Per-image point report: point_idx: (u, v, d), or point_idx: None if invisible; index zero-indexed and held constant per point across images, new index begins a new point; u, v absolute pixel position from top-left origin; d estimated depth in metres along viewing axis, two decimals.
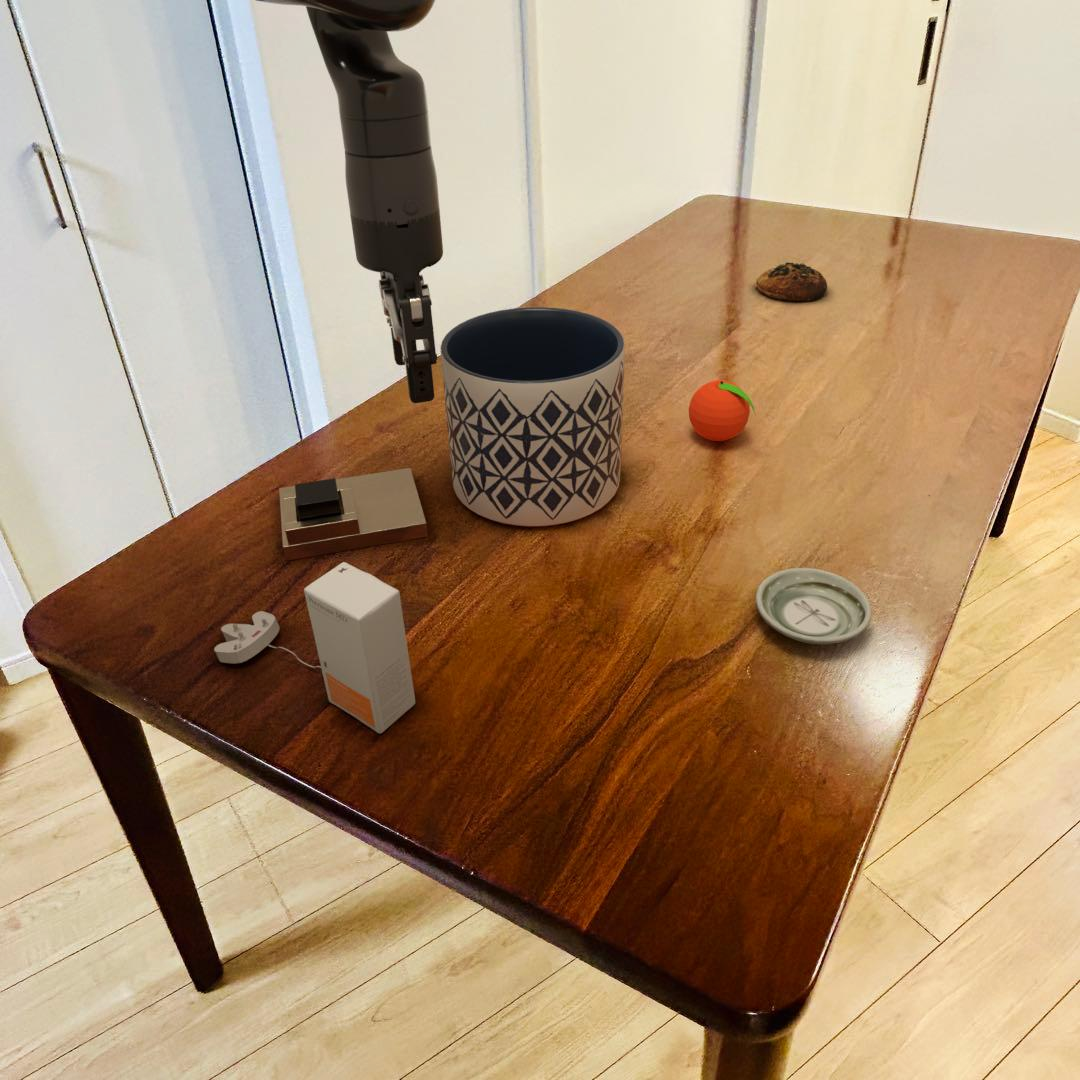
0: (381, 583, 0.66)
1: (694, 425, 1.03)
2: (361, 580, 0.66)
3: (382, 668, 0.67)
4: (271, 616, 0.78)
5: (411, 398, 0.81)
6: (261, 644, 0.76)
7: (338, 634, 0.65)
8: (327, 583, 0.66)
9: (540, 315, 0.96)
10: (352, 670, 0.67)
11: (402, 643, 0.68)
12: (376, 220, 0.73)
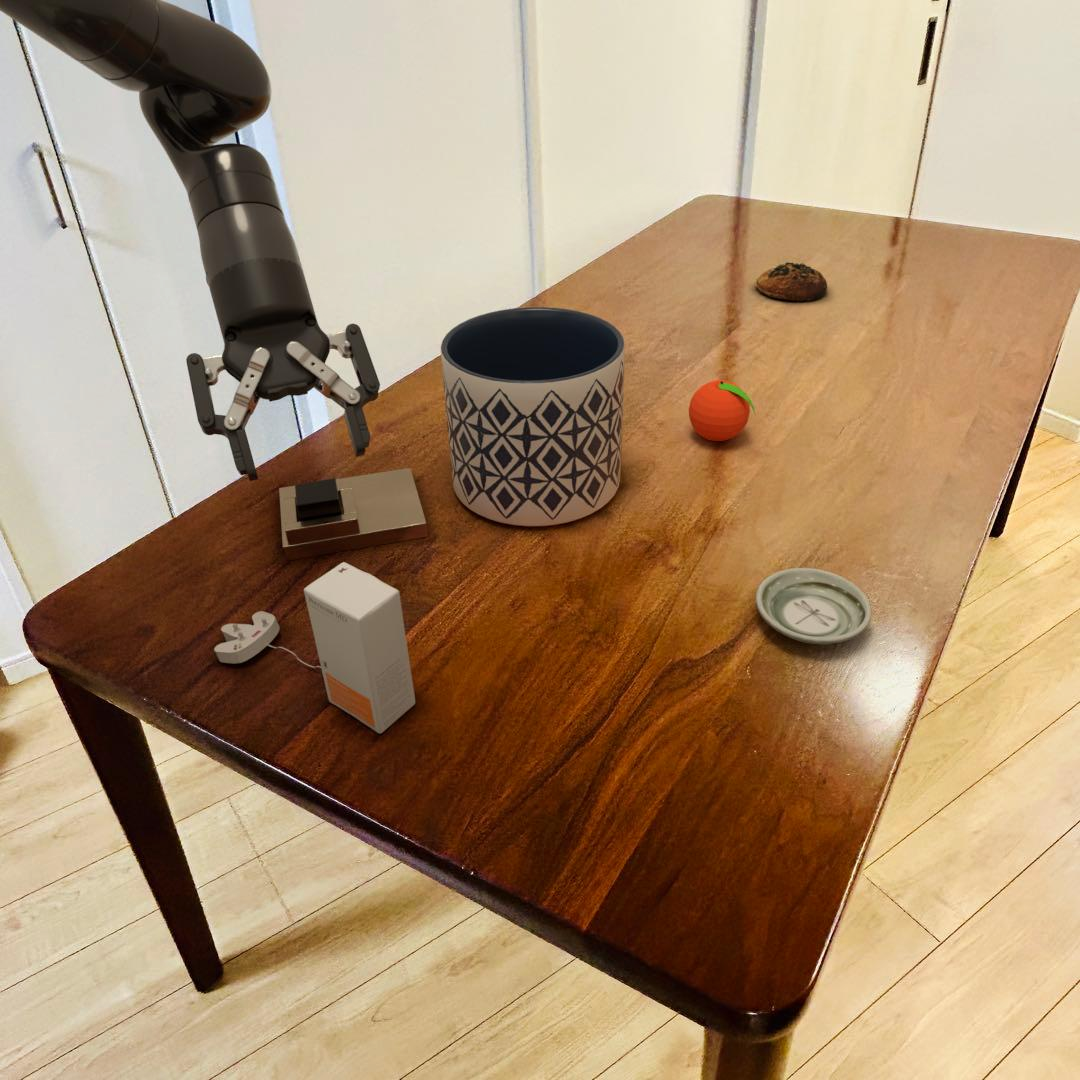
0: (381, 583, 0.66)
1: (694, 425, 1.03)
2: (361, 580, 0.66)
3: (382, 668, 0.67)
4: (271, 616, 0.78)
5: (363, 443, 0.72)
6: (261, 644, 0.76)
7: (338, 634, 0.65)
8: (327, 583, 0.66)
9: (540, 315, 0.96)
10: (352, 670, 0.67)
11: (402, 643, 0.68)
12: (295, 261, 0.72)
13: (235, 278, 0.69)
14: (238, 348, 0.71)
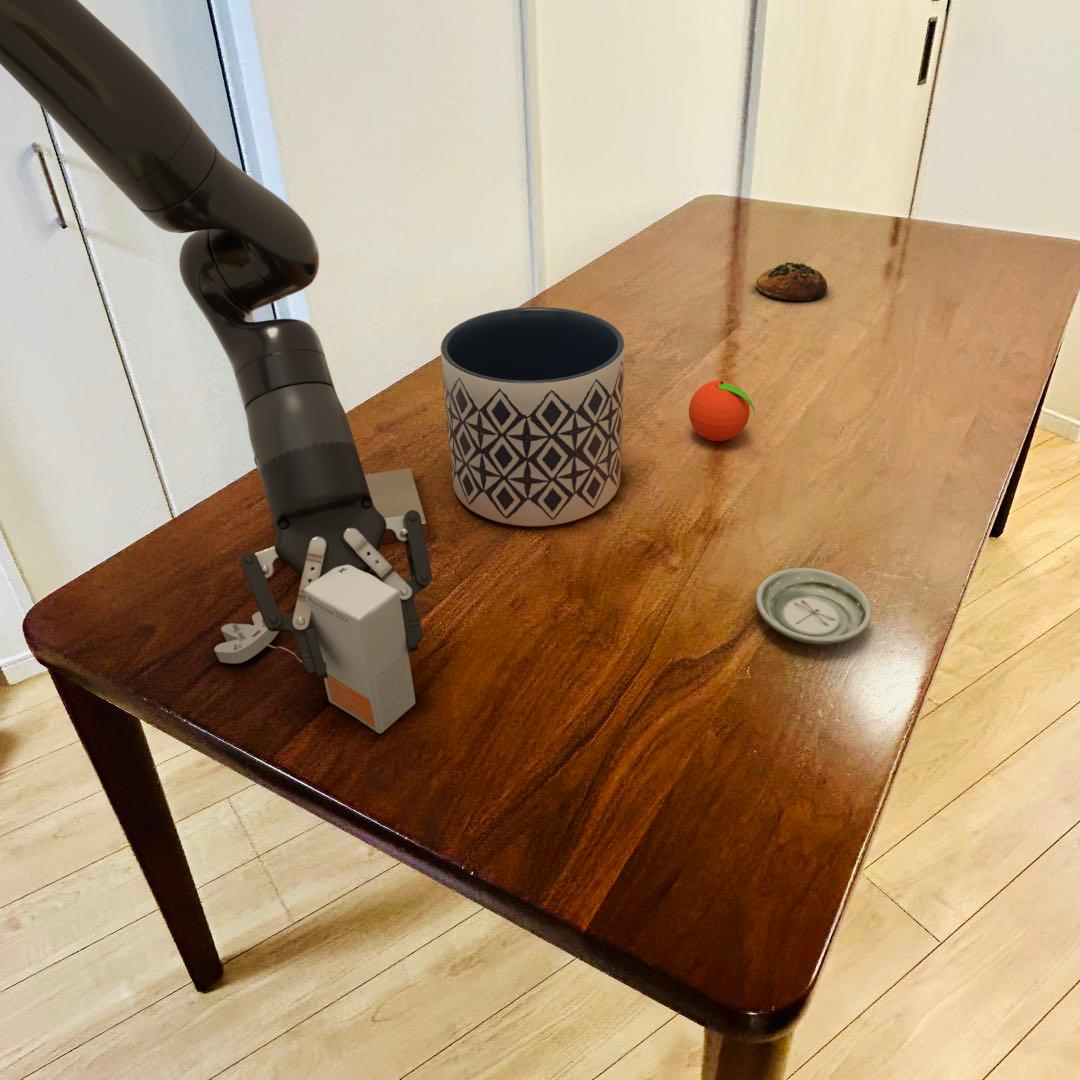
0: (381, 583, 0.66)
1: (694, 425, 1.03)
2: (361, 580, 0.66)
3: (382, 668, 0.67)
4: None
5: (416, 642, 0.68)
6: (261, 644, 0.76)
7: (338, 634, 0.65)
8: (327, 583, 0.66)
9: (540, 315, 0.96)
10: (352, 670, 0.67)
11: (402, 643, 0.68)
12: (350, 441, 0.68)
13: (290, 466, 0.66)
14: (291, 536, 0.67)
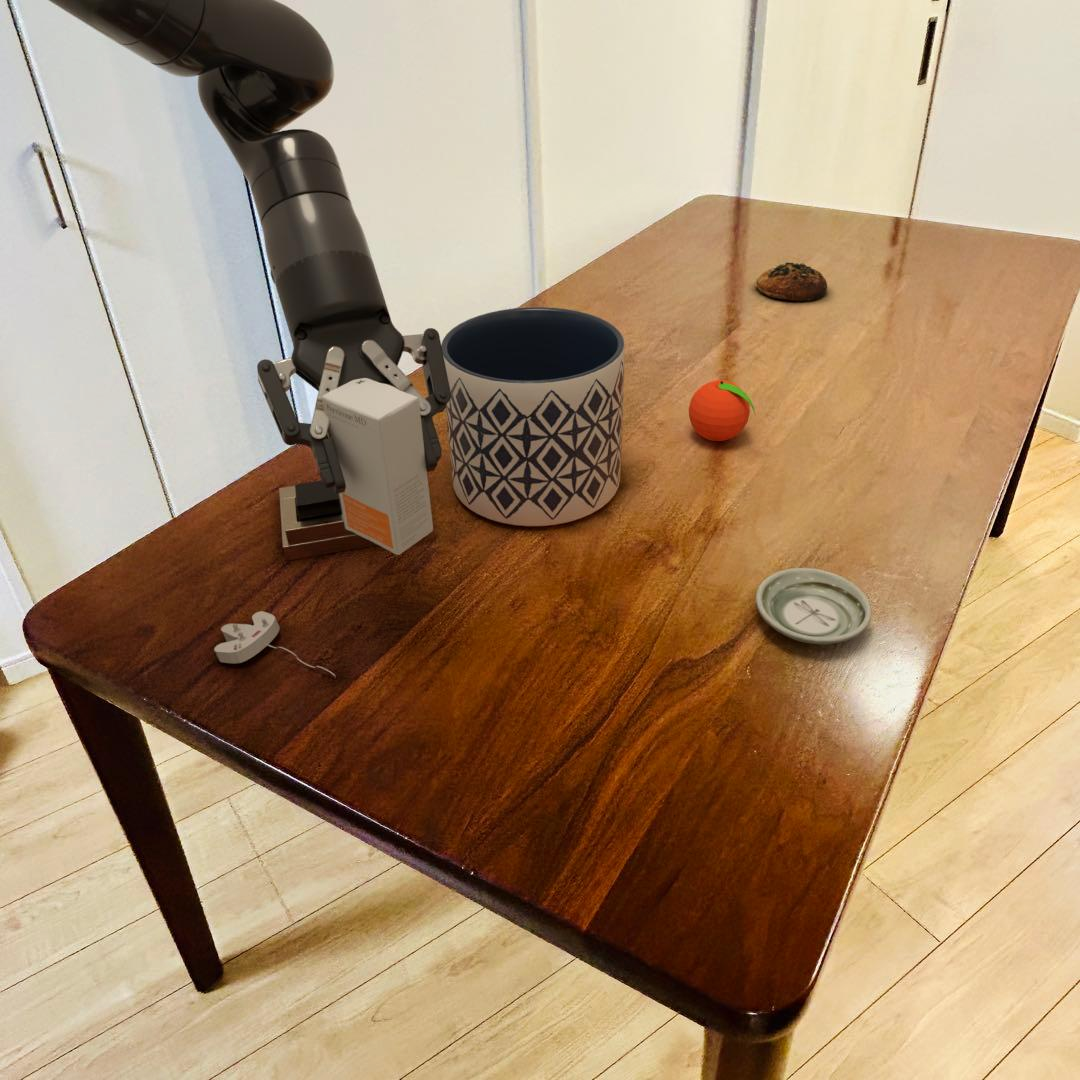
0: (400, 391, 0.64)
1: (694, 425, 1.03)
2: (379, 389, 0.65)
3: (400, 481, 0.66)
4: (271, 616, 0.78)
5: (435, 457, 0.67)
6: (261, 644, 0.76)
7: (356, 443, 0.64)
8: (345, 392, 0.65)
9: (540, 315, 0.96)
10: (370, 483, 0.66)
11: (421, 458, 0.66)
12: (368, 255, 0.67)
13: (308, 272, 0.64)
14: (308, 347, 0.66)
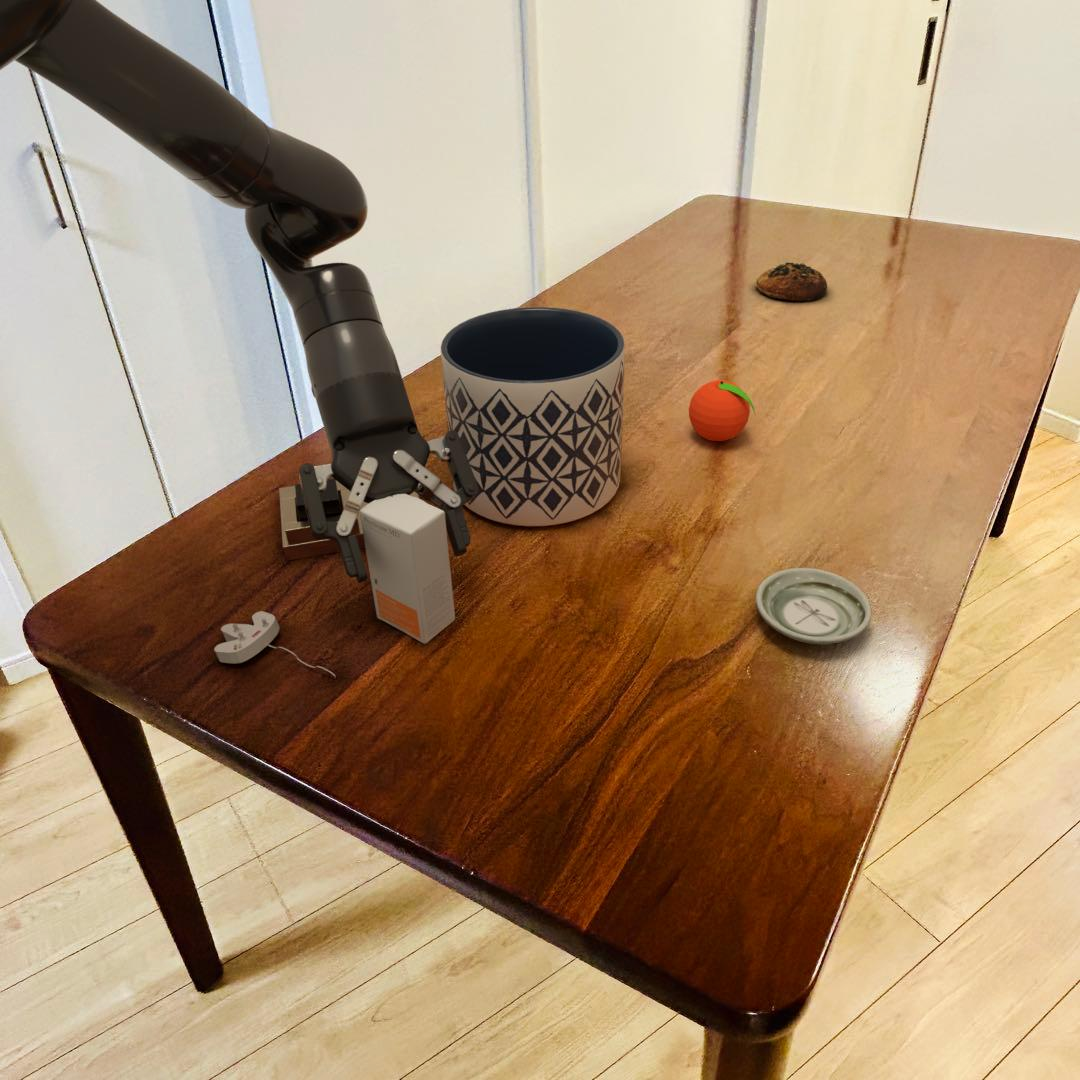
0: (428, 505, 0.74)
1: (694, 425, 1.03)
2: (410, 503, 0.74)
3: (428, 582, 0.75)
4: (271, 616, 0.78)
5: (465, 545, 0.76)
6: (261, 644, 0.76)
7: (390, 550, 0.73)
8: (380, 505, 0.74)
9: (540, 315, 0.96)
10: (401, 584, 0.75)
11: (445, 560, 0.76)
12: (398, 373, 0.76)
13: (346, 392, 0.73)
14: (347, 457, 0.74)
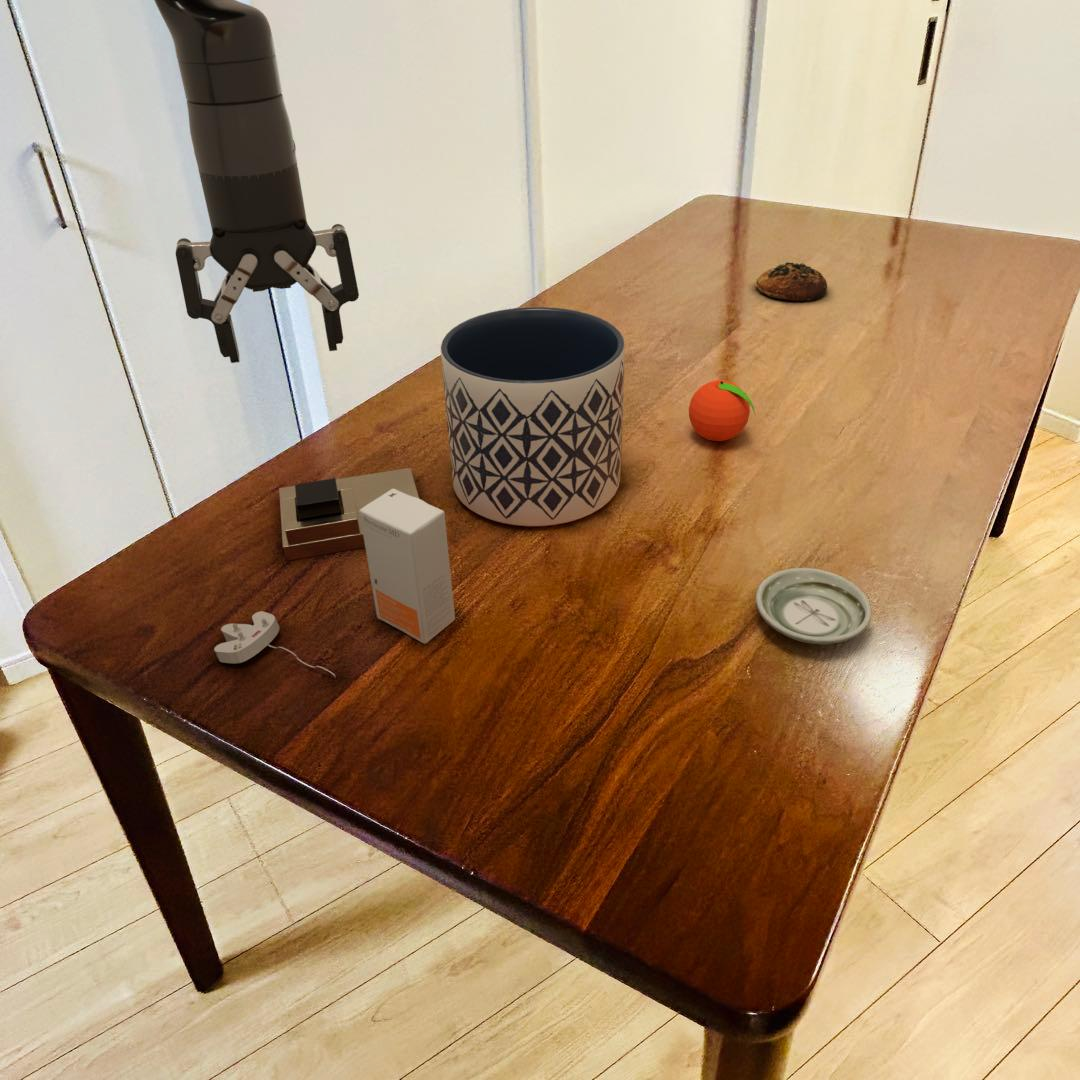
0: (428, 505, 0.74)
1: (694, 425, 1.03)
2: (410, 503, 0.74)
3: (428, 582, 0.75)
4: (271, 616, 0.78)
5: (336, 346, 0.80)
6: (261, 644, 0.76)
7: (390, 550, 0.73)
8: (380, 505, 0.74)
9: (540, 315, 0.96)
10: (401, 584, 0.75)
11: (445, 560, 0.76)
12: (290, 165, 0.70)
13: (228, 191, 0.68)
14: (226, 245, 0.73)
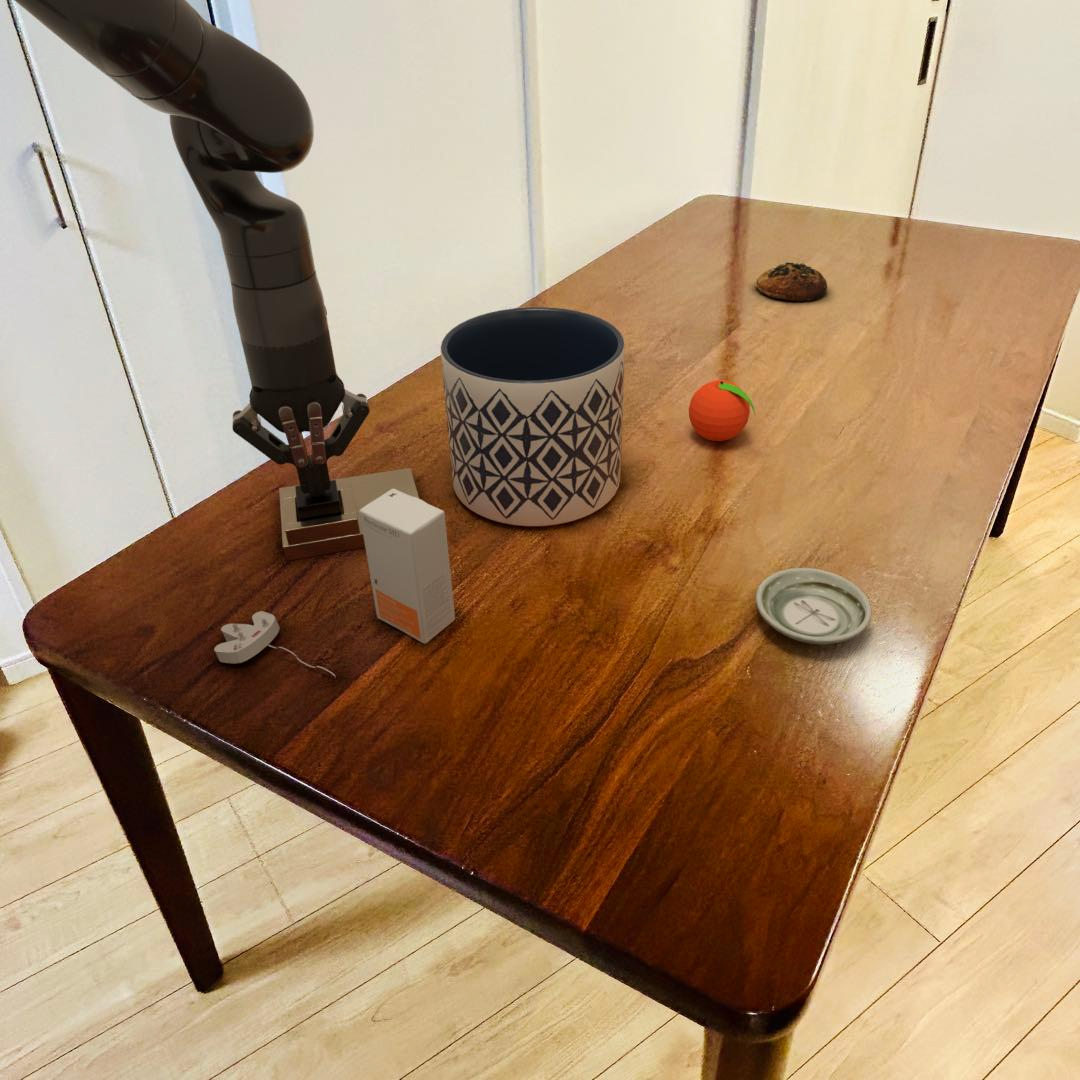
0: (428, 505, 0.74)
1: (694, 425, 1.03)
2: (410, 503, 0.74)
3: (428, 582, 0.75)
4: (271, 616, 0.78)
5: (324, 492, 0.88)
6: (261, 644, 0.76)
7: (390, 550, 0.73)
8: (380, 505, 0.74)
9: (540, 315, 0.96)
10: (401, 584, 0.75)
11: (445, 560, 0.76)
12: (322, 332, 0.77)
13: (267, 359, 0.76)
14: (260, 399, 0.80)
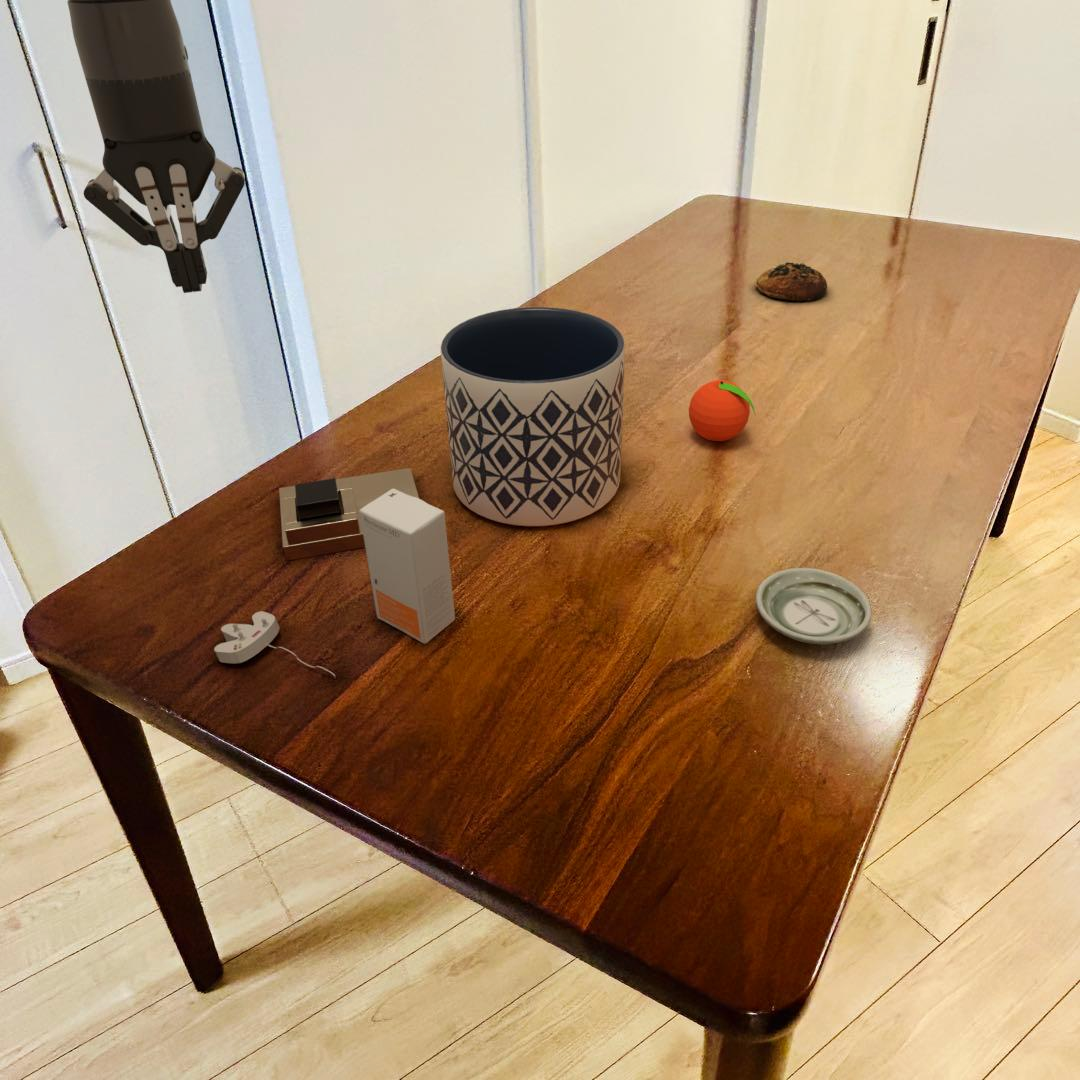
0: (428, 505, 0.74)
1: (694, 425, 1.03)
2: (410, 503, 0.74)
3: (428, 582, 0.75)
4: (271, 616, 0.78)
5: (199, 286, 0.77)
6: (261, 644, 0.76)
7: (390, 550, 0.73)
8: (380, 505, 0.74)
9: (540, 315, 0.96)
10: (401, 584, 0.75)
11: (445, 560, 0.76)
12: (179, 71, 0.67)
13: (113, 96, 0.66)
14: (113, 158, 0.70)
